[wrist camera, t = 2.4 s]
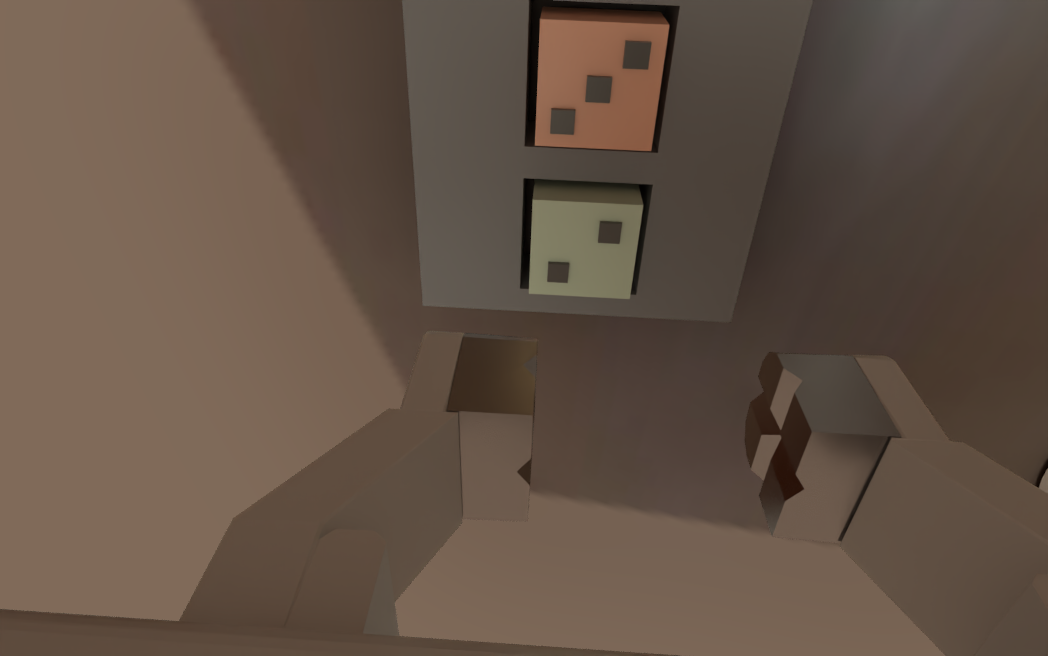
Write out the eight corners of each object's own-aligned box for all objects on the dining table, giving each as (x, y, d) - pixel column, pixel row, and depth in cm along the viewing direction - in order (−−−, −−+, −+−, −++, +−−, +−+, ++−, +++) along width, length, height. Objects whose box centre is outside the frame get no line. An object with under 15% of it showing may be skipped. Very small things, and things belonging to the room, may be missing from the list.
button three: (660, 11, 22) (670, 26, 20) (644, 129, 24) (651, 153, 22) (542, 6, 22) (539, 20, 20) (537, 124, 25) (534, 147, 22)
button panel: (847, -273, 19) (888, -295, 17) (717, 285, 30) (730, 322, 27) (404, -287, 19) (380, -311, 17) (434, 270, 30) (422, 305, 28)
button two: (637, 179, 26) (644, 207, 23) (625, 269, 28) (630, 301, 26) (535, 174, 26) (532, 202, 24) (531, 264, 28) (528, 296, 26)
